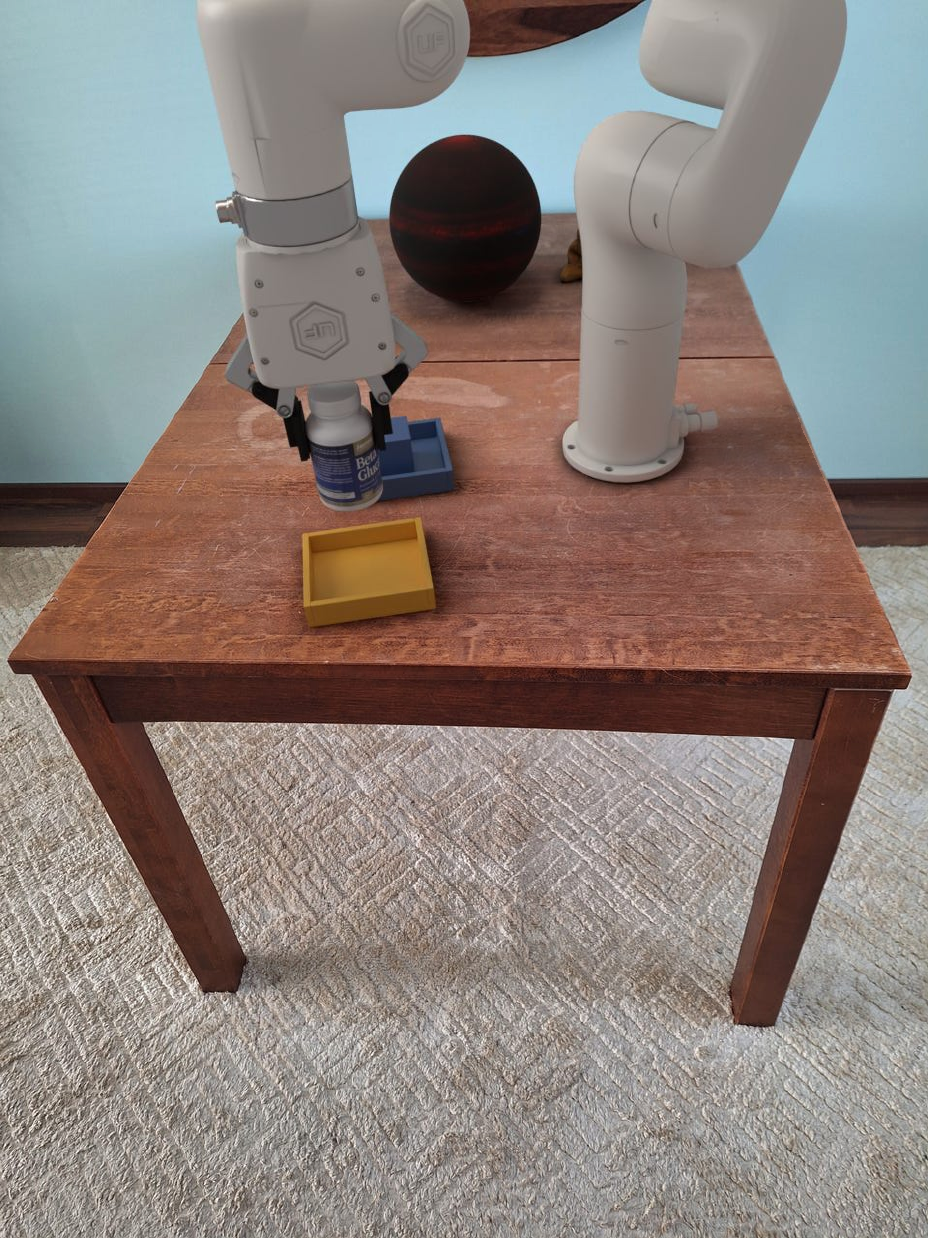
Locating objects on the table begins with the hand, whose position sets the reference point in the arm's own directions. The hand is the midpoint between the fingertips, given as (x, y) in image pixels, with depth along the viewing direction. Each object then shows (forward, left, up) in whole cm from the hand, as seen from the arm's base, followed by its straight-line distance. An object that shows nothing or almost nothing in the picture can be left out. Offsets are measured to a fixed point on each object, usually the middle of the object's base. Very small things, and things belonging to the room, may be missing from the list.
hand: (343, 444), depth 69 cm
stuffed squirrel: (-38, -61, -15) cm, 73 cm away
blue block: (-4, -17, -14) cm, 22 cm away
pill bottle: (0, 0, -5) cm, 5 cm away
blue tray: (-4, -17, -15) cm, 23 cm away
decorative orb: (-18, -57, -15) cm, 62 cm away
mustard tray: (0, 0, -15) cm, 15 cm away
